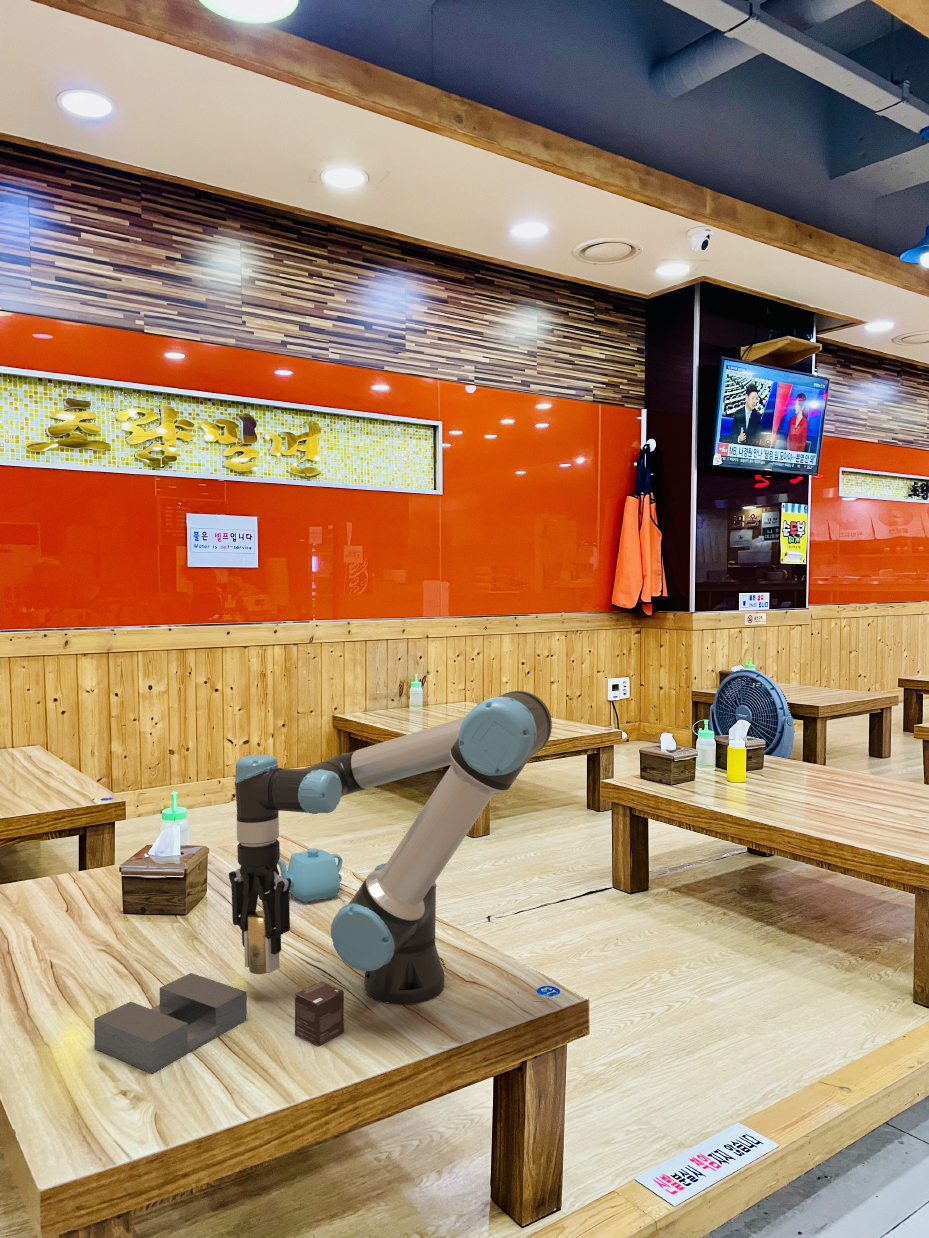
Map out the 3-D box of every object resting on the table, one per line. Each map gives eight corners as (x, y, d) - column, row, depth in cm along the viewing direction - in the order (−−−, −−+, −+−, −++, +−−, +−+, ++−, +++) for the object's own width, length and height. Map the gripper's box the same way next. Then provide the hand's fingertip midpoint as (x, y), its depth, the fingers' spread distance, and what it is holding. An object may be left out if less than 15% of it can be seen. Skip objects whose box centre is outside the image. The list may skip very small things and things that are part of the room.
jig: (246, 1019, 152) (246, 991, 152) (151, 1073, 135) (151, 1042, 134) (191, 999, 159) (190, 972, 159) (94, 1048, 142) (94, 1018, 142)
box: (321, 1021, 151) (321, 980, 151) (345, 1033, 147) (345, 990, 147) (293, 1035, 147) (293, 992, 146) (317, 1047, 143) (317, 1003, 143)
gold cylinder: (280, 966, 160) (278, 912, 160) (262, 976, 156) (260, 921, 156) (262, 961, 163) (260, 908, 162) (243, 971, 159) (242, 916, 158)
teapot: (263, 895, 213) (263, 849, 213) (332, 883, 223) (332, 838, 222) (280, 911, 203) (280, 863, 202) (351, 897, 212) (352, 851, 212)
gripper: (308, 841, 157) (312, 969, 158) (238, 830, 167) (242, 950, 167) (279, 852, 151) (283, 985, 152) (208, 840, 160) (212, 965, 161)
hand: (262, 967), depth 159 cm, fingers closed on gold cylinder, 5 cm apart
